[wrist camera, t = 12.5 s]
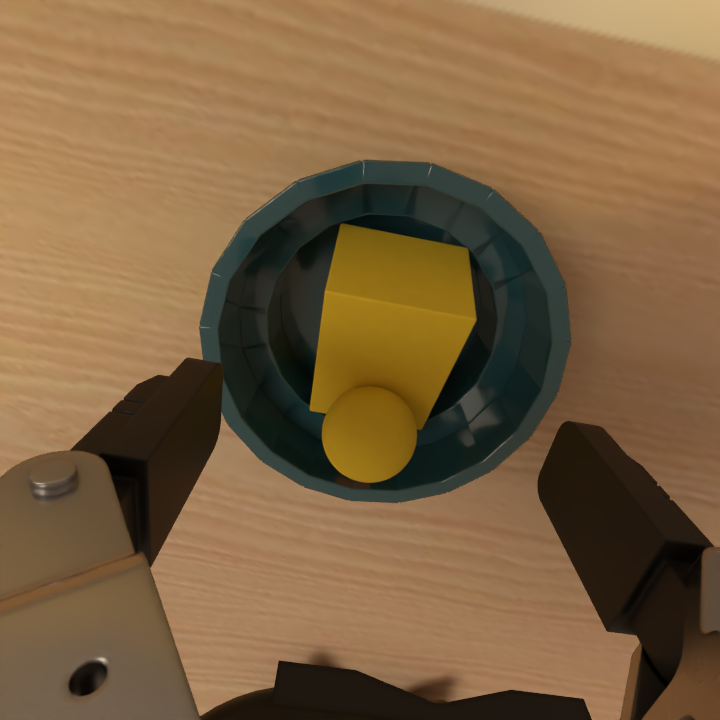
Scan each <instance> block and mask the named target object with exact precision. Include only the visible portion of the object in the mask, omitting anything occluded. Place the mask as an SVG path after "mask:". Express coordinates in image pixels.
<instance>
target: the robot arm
mask: <svg viewBox="0 0 720 720" xmlns="http://www.w3.org/2000/svg"><path fill="white" fill-rule="evenodd" d="M222 389H223V366H222V364H221V363H218V362H212V361H206V360H200V359H194V358H186V359H185V360H184V361H183V362H182V363H181V364H180V365H179V366H178V367H177V369H176V370H175V371H174V372H173V373H172V374H171V375H170V376H163V375H157V376H155V377H153V378H150V379H148V380H146V381H144V382H142V383H139V384H137V385H136V386H135V387H134V388H133V389H132V390H131V391H130V392H129V393H128V394H127V395H126V396H125V397H124V400H121V401H120V402H119V403H118V404H117V405H116V406H115V407H114V408H113V410H112V412H109V413H108V414H107V415H106V416H105V417H104V418H102V419H101V420H100V421H99V422H98V423H97V424H96V425H95V426H94V427H93V428H92V429H91V430H90V431H89V432H88V433H87V434H86V435H85V436H84V437H83V438H82V439H81V440H80V441H79V442H78V443H77V444H76V445H75V446H74V447H73V448H72V449H71V450H70V451H69V450H68V451H57V452H50V453H46V454H42V455H39V456H36V457H33V458H30V459H28V460H25V461H23V462H21V463H19V464H17V465H16V466H14V467H13V468H11V469H10V470H8V471H7V472H6V473H5V474H4V475H3V476H1V478H0V720H592V719H591V716H590V714H589V712H588V709H587V707H586V704H585V702H584V699H580V698H572V697H564V696H556V695H548V694H540V693H532V692H524V691H516V690H508V691H503V692H498V693H492V694H487V695H482V696H477V697H472V698H467V699H462V700H457V701H452V702H447V703H435V702H431V701H428V700H426V699H424V698H421V697H419V696H416V695H414V694H412V693H409V692H407V691H404V690H402V689H400V688H397V687H395V686H392V685H390V684H388V683H385V682H383V681H380V680H378V679H376V678H373V677H371V676H368V675H366V674H364V673H361V672H359V671H356V670H349V669H341V668H333V667H325V666H317V665H309V664H301V663H293V662H286V661H279V663H278V669H277V675H276V680H275V686H274V688H269V689H263V690H258V691H254V692H251V693H248V694H245V695H242V696H239V697H236V698H234V699H231V700H229V701H227V702H225V703H223V704H221V705H219V706H217V707H215V708H213V709H212V710H210V711H208V712H207V713H205V714H203V715H202V716H199V713H198V710H197V707H196V704H195V701H194V698H193V695H192V692H191V689H190V686H189V683H188V680H187V677H186V674H185V671H184V668H183V665H182V662H181V659H180V656H179V653H178V650H177V647H176V644H175V641H174V638H173V635H172V632H171V630H170V627H169V624H168V621H167V618H166V615H165V612H164V609H163V606H162V603H161V600H160V597H159V594H158V591H157V588H156V585H155V582H154V579H153V576H152V573H151V570H150V567H151V566H152V564H153V562H154V561H155V559H156V557H157V555H158V553H159V551H160V549H161V547H162V545H163V544H164V542H165V540H166V538H167V536H168V534H169V532H170V530H171V529H172V527H173V525H174V523H175V521H176V519H177V517H178V515H179V514H180V512H181V510H182V508H183V506H184V504H185V502H186V500H187V498H188V497H189V495H190V493H191V491H192V489H193V487H194V485H195V483H196V482H197V480H198V478H199V476H200V474H201V472H202V470H203V468H204V467H205V465H206V463H207V461H208V459H209V457H210V455H211V453H212V451H213V450H214V447H215V445H216V442H217V439H218V435H219V430H220V424H221V407H222ZM538 495H539V498H540V501H541V503H542V505H543V507H544V509H545V511H546V513H547V515H548V517H549V518H550V520H551V522H552V524H553V526H554V528H555V530H556V532H557V534H558V536H559V538H560V540H561V542H562V544H563V546H564V548H565V550H566V552H567V554H568V556H569V558H570V560H571V562H572V564H573V566H574V568H575V570H576V572H577V574H578V575H579V577H580V579H581V581H582V583H583V585H584V587H585V589H586V591H587V593H588V595H589V597H590V599H591V601H592V603H593V605H594V607H595V609H596V611H597V613H598V615H599V617H600V619H601V621H602V623H603V625H604V627H605V629H606V631H608V632H615V633H623V634H630V635H637V637H638V639H639V641H640V643H639V645H638V646H637V648H636V649H635V651H634V652H633V654H632V657H631V663H630V668H629V674H628V679H627V684H626V690H625V695H624V701H623V706H622V712H621V717H620V720H720V547H714V545H713V544H712V543H711V542H710V541H709V540H708V539H707V538H706V537H705V535H704V534H703V533H702V532H701V531H700V530H699V529H698V528H697V527H696V525H695V524H694V523H693V522H692V521H691V520H690V519H689V518H688V517H687V515H686V514H685V513H684V512H683V511H682V510H681V509H680V508H679V506H678V505H677V504H676V503H675V502H674V501H673V500H670V499H669V498H670V496H669V495H668V494H667V493H666V492H665V491H664V490H663V489H662V488H661V486H657V482H656V481H655V480H654V479H653V478H652V476H651V475H650V474H649V473H648V472H647V471H646V470H645V469H644V468H643V466H641V465H640V464H639V463H637V462H636V461H635V460H633V459H632V458H630V457H629V456H628V455H627V454H626V453H625V452H624V451H623V450H622V449H621V448H620V447H619V445H618V444H617V443H616V442H615V441H614V440H613V439H612V437H611V436H610V435H609V434H608V433H607V432H606V431H605V429H603V428H602V427H600V426H596V425H590V424H583V423H577V422H571V421H567V422H564V423H563V424H562V425H561V426H560V428H559V430H558V432H557V434H556V436H555V439H554V441H553V443H552V446H551V448H550V450H549V453H548V455H547V457H546V459H545V462H544V464H543V466H542V469H541V471H540V474H539V477H538Z"/></svg>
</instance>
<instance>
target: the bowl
mask: <svg viewBox="0 0 720 720" xmlns="http://www.w3.org/2000/svg"><path fill="white" fill-rule="evenodd" d="M342 223H344V224H349V225H354V226H359V227H364V228H369V229H374V230H379V231H384V232H389V233H394V234H399V235H404V236H409V237H414V238H419V239H425V240H430V241H435V242H440V243H445V244H450V245H455V246H460V247H465V248H468V250H469V259H470V267H471V276H472V284H473V293H474V301H475V310H476V318H477V321H476V323H475V325H474V326H473V328H472V330H471V332H470V334H469V336H468V338H467V340H466V342H465V344H464V346H463V348H462V350H461V352H460V354H459V356H458V358H457V360H456V362H455V364H454V366H453V368H452V370H451V372H450V374H449V376H448V378H447V380H446V382H445V384H444V386H443V388H442V390H441V392H440V394H439V396H438V398H437V400H436V402H435V404H434V406H433V408H432V410H431V412H430V414H429V416H428V418H427V420H426V422H425V424H424V426H423V428H422V429H421V430H418V429H417V441H416V446H415V450H414V452H413V455H412V457H411V459H410V460H409V462H408V463H407V465H406V466H405V467H404V468H403V469H402V470H401V471H400V472H399V473H397V474H396V475H395V476H393V477H391V478H389V479H387V480H384V481H380V482H374V483H366V482H359V481H355V480H352V479H350V478H348V477H346V476H345V475H343V474H342V473H340V472H339V471H338V470H337V469H336V468H335V467H334V466H333V465H332V463H331V462H330V461H329V459H328V457H327V455H326V453H325V450H324V447H323V442H322V426H323V422H324V418H325V416H326V414H325V413H319V412H314V411H310V401H311V394H312V386H313V378H314V371H315V363H316V355H317V348H318V340H319V332H320V325H321V317H322V309H323V302H324V294H325V289H326V284H327V280H328V276H329V271H330V267H331V263H332V258H333V254H334V250H335V245H336V241H337V237H338V233H339V228H340V225H341V224H342ZM199 329H200V338H201V346H202V354H203V360H206V361H212V362H218V363H221V364H222V366H223V389H222V407H221V412H222V414H223V416H224V418H225V420H226V423H227V424H228V425H229V427H230V428H231V429H232V430H233V431H234V432H235V433H236V434H237V436H238V437H239V438H240V439H241V440H242V441H243V442H244V443H245V444H246V445H247V446H248V447H249V449H250V450H251V451H252V452H253V453H254V454H255V455H256V456H257V457H258V458H259V459H260V460H262V462H263V463H265V464H267V465H268V466H270V467H271V468H273V469H275V470H276V471H278V472H280V473H281V474H283V475H284V476H286V477H288V478H289V479H291V480H293V481H294V482H296V483H298V484H299V485H301V486H304V487H305V488H308V489H312V490H315V491H318V492H322V493H325V494H328V495H332V496H335V497H338V498H342V499H345V500H350V501H364V502H387V503H398V502H406V501H410V500H415V499H420V498H425V497H430V496H435V495H440V494H444V493H447V492H450V491H452V490H454V489H456V488H458V487H460V486H462V485H465V484H467V483H469V482H471V481H473V480H475V479H477V478H479V477H481V476H483V475H485V474H487V473H489V472H491V470H494V469H495V468H496V467H497V466H499V465H500V464H501V463H502V462H503V461H504V460H505V459H506V458H508V457H509V456H510V455H511V454H512V453H513V452H514V451H516V450H517V449H518V448H519V447H520V446H521V445H522V444H524V443H525V442H526V441H527V440H528V439H529V438H530V437H531V436H532V434H533V433H534V431H535V430H536V428H537V426H538V425H539V423H540V422H541V420H542V418H543V417H544V415H545V414H546V412H547V411H548V409H549V407H550V406H551V404H552V403H553V401H554V399H555V398H556V396H557V393H558V392H559V389H560V385H561V381H562V377H563V373H564V369H565V365H566V361H567V357H568V353H569V349H570V345H571V332H570V321H569V311H568V300H567V290H566V286H565V282H564V280H563V277H562V275H561V273H560V271H559V269H558V267H557V265H556V263H555V261H554V259H553V257H552V255H551V253H550V251H549V249H548V247H547V245H546V243H545V241H544V239H543V237H542V235H541V233H540V232H539V231H538V229H537V228H536V227H535V226H533V225H532V224H531V223H530V222H529V221H528V220H527V219H526V218H525V217H524V216H523V215H522V214H521V213H519V212H518V211H517V210H516V209H515V208H514V207H513V206H512V205H511V204H510V203H509V202H508V201H507V200H505V199H504V198H503V197H502V196H501V195H500V194H499V193H498V192H497V191H496V190H494V189H492V188H491V187H489V186H487V185H485V184H482V183H480V182H477V181H475V180H472V179H470V178H468V177H465V176H463V175H460V174H458V173H455V172H453V171H451V170H448V169H446V168H443V167H441V166H438V165H436V164H433V163H428V162H408V161H384V160H363V161H356V162H353V163H349V164H346V165H343V166H340V167H337V168H333V169H330V170H327V171H324V172H321V173H317V174H314V175H311V176H308V177H305V178H301V179H299V180H298V181H295V182H293V183H292V184H291V185H289V186H288V187H287V188H285V189H284V190H283V191H281V192H280V193H279V194H277V195H276V196H275V197H273V198H272V199H271V200H269V201H268V202H267V203H266V204H264V205H263V206H262V207H260V208H259V209H258V210H256V211H255V212H254V213H252V214H251V215H250V216H248V217H247V218H246V220H244V221H243V222H242V224H241V226H240V227H239V229H238V230H237V232H236V233H235V235H234V236H233V238H232V240H231V241H230V243H229V244H228V246H227V247H226V249H225V250H224V252H223V253H222V255H221V257H220V258H219V260H218V261H217V263H216V264H215V266H214V267H213V269H212V272H211V276H210V280H209V285H208V289H207V293H206V298H205V302H204V307H203V311H202V315H201V320H200V326H199Z"/></svg>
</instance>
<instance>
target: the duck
mask: <svg viewBox="0 0 720 720" xmlns="http://www.w3.org/2000/svg"><path fill="white" fill-rule="evenodd" d="M476 321H477V318H476V310H475V301H474V293H473V284H472V276H471V267H470V259H469V250H468V248H465V247H460V246H455V245H450V244H445V243H440V242H435V241H430V240H425V239H419V238H414V237H409V236H404V235H399V234H394V233H389V232H384V231H379V230H374V229H369V228H364V227H359V226H354V225H349V224H344V223H342V224H341V225H340V228H339V233H338V237H337V241H336V245H335V250H334V254H333V258H332V263H331V267H330V271H329V276H328V280H327V284H326V289H325V294H324V302H323V309H322V317H321V325H320V332H319V340H318V348H317V355H316V363H315V371H314V378H313V386H312V394H311V401H310V411H314V412H319V413H325V414H326V416H325V418H324V422H323V426H322V442H323V447H324V450H325V453H326V455H327V457H328V459H329V461H330V462H331V463H332V465H333V466H334V467H335V468H336V469H337V470H338V471H339V472H340V473H342V474H343V475H345V476H346V477H348V478H350V479H352V480H355V481H359V482H366V483H374V482H380V481H384V480H387V479H389V478H391V477H393V476H395V475H396V474H397V473H399V472H400V471H401V470H402V469H403V468H404V467H405V466H406V465H407V463H408V462H409V460H410V459H411V457H412V455H413V452H414V450H415V446H416V441H417V429H418V430H421V429H422V428H423V426H424V424H425V422H426V420H427V418H428V416H429V414H430V412H431V410H432V408H433V406H434V404H435V402H436V400H437V398H438V396H439V394H440V392H441V390H442V388H443V386H444V384H445V382H446V380H447V378H448V376H449V374H450V372H451V370H452V368H453V366H454V364H455V362H456V360H457V358H458V356H459V354H460V352H461V350H462V348H463V346H464V344H465V342H466V340H467V338H468V336H469V334H470V332H471V330H472V328H473V326H474V325H475V323H476Z"/></svg>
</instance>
